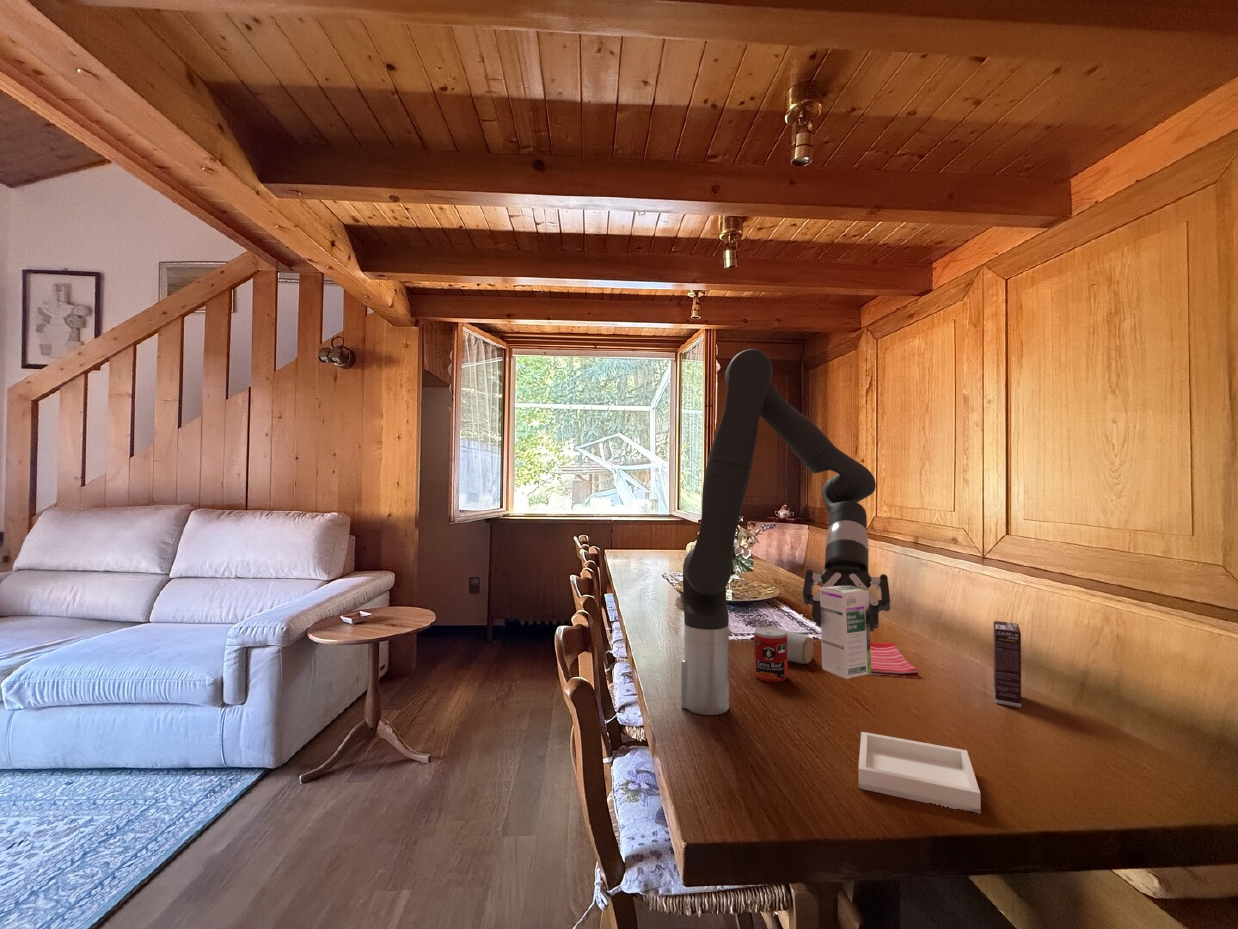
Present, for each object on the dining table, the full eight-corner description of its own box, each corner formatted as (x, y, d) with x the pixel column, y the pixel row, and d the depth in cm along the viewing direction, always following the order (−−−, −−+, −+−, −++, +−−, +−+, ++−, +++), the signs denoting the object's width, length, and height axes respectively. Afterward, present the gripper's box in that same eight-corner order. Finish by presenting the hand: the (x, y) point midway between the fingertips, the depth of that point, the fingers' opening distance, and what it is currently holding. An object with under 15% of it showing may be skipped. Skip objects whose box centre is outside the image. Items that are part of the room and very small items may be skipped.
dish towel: (896, 651, 157) (896, 642, 157) (921, 681, 134) (921, 669, 134) (832, 647, 161) (832, 638, 161) (845, 675, 138) (845, 664, 138)
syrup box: (846, 680, 93) (845, 592, 93) (820, 669, 98) (819, 585, 99) (871, 674, 95) (870, 589, 95) (844, 664, 101) (843, 583, 101)
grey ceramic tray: (858, 788, 87) (858, 768, 87) (861, 748, 99) (861, 731, 99) (980, 814, 80) (980, 793, 80) (967, 768, 92) (966, 750, 92)
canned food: (752, 680, 133) (751, 633, 133) (757, 669, 140) (756, 625, 141) (785, 684, 130) (785, 637, 130) (788, 673, 138) (788, 628, 138)
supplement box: (1022, 708, 117) (1021, 632, 117) (994, 703, 119) (993, 628, 120) (1019, 695, 124) (1018, 623, 124) (993, 690, 127) (992, 620, 127)
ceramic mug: (805, 668, 141) (805, 637, 142) (774, 661, 146) (774, 632, 147) (819, 658, 150) (819, 629, 150) (789, 652, 155) (789, 624, 155)
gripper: (805, 536, 107) (798, 610, 96) (888, 539, 101) (891, 618, 90) (808, 560, 111) (802, 633, 101) (888, 564, 105) (891, 642, 95)
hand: (844, 626), depth 95 cm, fingers closed on syrup box, 8 cm apart
